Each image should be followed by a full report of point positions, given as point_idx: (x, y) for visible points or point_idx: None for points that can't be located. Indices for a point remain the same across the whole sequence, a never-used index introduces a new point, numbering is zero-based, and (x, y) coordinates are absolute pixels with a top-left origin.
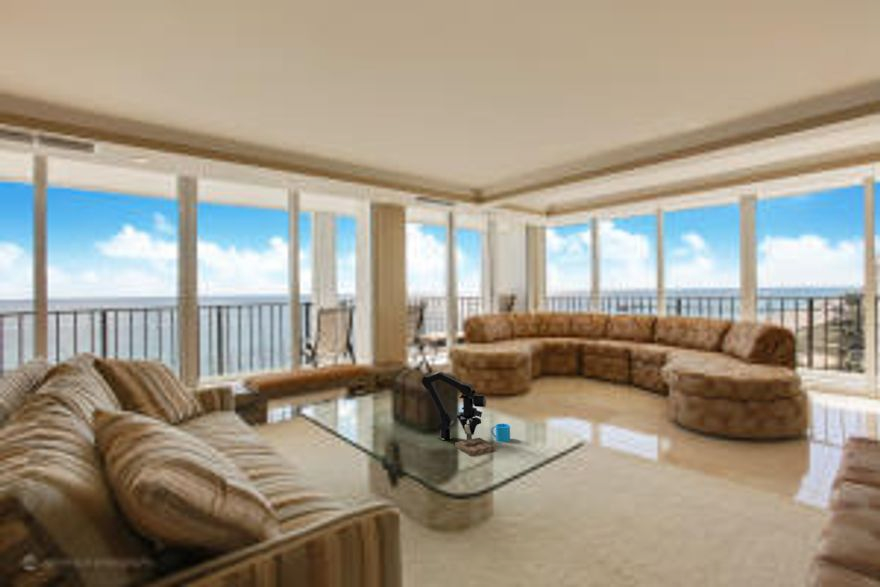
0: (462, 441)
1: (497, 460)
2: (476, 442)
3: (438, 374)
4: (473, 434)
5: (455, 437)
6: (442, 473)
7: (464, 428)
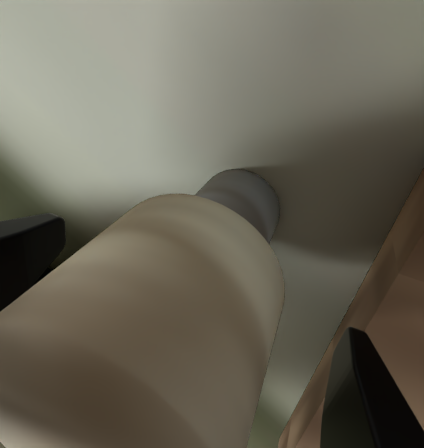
0: (312, 446)
1: None
2: None
3: None
4: (365, 337)
5: (33, 213)
6: None
7: (20, 282)
